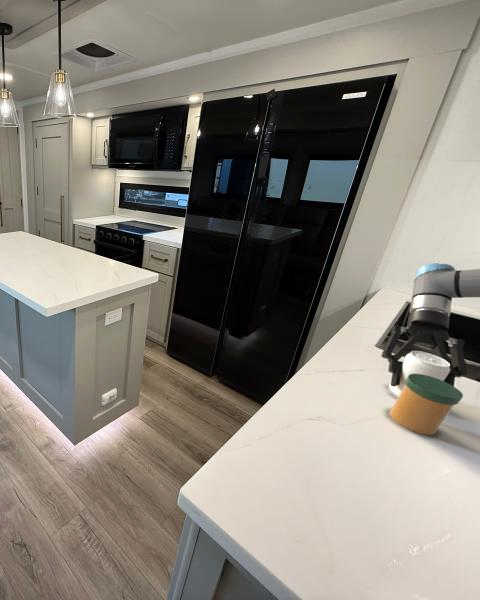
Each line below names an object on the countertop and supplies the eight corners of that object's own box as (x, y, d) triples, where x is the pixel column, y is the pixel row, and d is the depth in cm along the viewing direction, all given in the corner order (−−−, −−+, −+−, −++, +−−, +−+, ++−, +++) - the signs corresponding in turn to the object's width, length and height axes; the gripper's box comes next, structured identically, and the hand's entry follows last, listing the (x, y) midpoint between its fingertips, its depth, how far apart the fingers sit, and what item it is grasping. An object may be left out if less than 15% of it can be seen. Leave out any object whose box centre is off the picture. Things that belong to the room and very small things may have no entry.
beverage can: (426, 410, 79) (450, 371, 74) (384, 392, 85) (405, 355, 80) (431, 398, 83) (455, 361, 78) (391, 381, 89) (411, 346, 84)
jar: (429, 419, 76) (451, 384, 72) (440, 440, 70) (466, 404, 66) (386, 405, 80) (405, 372, 76) (393, 424, 74) (414, 389, 69)
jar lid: (450, 389, 72) (454, 383, 72) (466, 411, 66) (470, 404, 65) (400, 375, 77) (403, 369, 76) (410, 394, 70) (414, 387, 69)
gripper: (474, 331, 84) (466, 411, 78) (373, 310, 94) (360, 379, 88) (495, 321, 78) (488, 407, 72) (385, 299, 88) (371, 373, 82)
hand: (417, 391), depth 80 cm, fingers open, 8 cm apart
